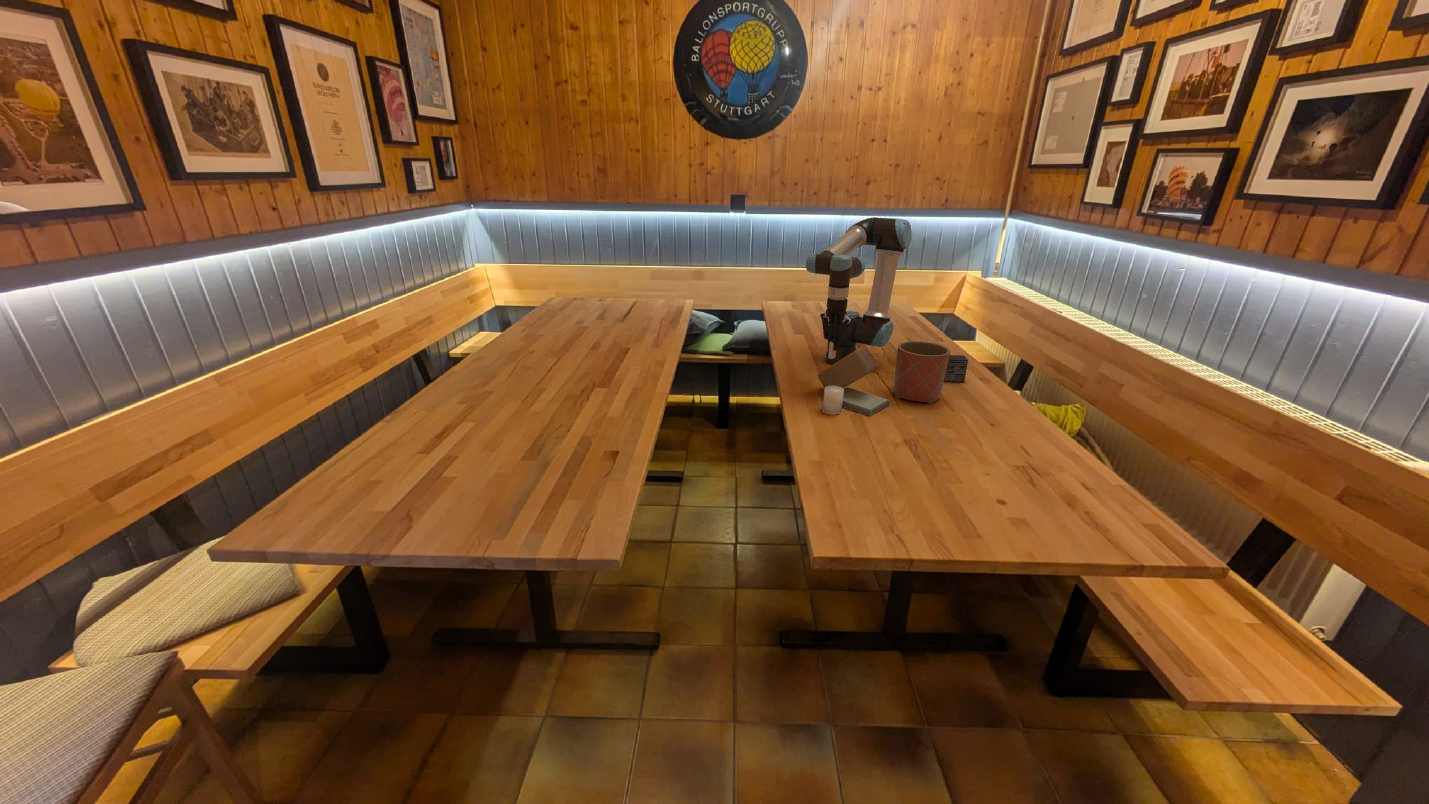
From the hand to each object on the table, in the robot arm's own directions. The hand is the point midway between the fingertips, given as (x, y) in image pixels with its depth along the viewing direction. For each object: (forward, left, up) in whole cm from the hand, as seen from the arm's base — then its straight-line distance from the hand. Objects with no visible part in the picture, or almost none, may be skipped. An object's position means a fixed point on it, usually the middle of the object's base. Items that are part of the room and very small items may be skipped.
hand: (831, 357), depth 217 cm
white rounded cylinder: (+10, -13, -16) cm, 23 cm away
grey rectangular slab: (+13, 0, -16) cm, 20 cm away
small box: (+27, +51, -16) cm, 60 cm away
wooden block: (-2, +2, -12) cm, 12 cm away
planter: (+25, +24, -16) cm, 38 cm away
